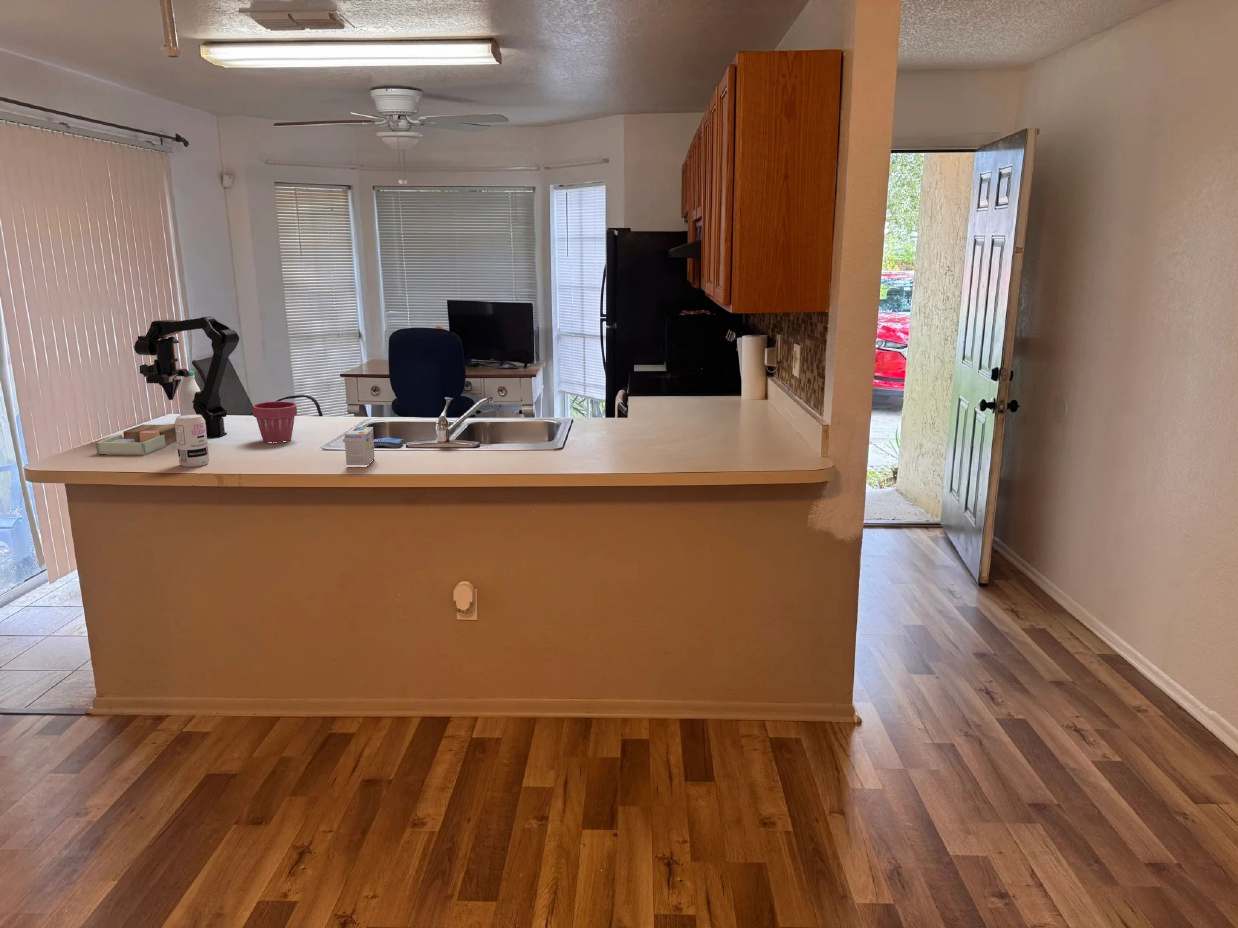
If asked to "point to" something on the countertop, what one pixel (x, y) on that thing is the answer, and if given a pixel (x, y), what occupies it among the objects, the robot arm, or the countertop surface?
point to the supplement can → (191, 440)
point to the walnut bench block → (163, 430)
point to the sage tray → (129, 446)
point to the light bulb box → (359, 446)
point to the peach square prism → (148, 435)
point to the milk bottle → (187, 394)
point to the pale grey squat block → (125, 440)
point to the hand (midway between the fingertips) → (170, 400)
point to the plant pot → (275, 420)
